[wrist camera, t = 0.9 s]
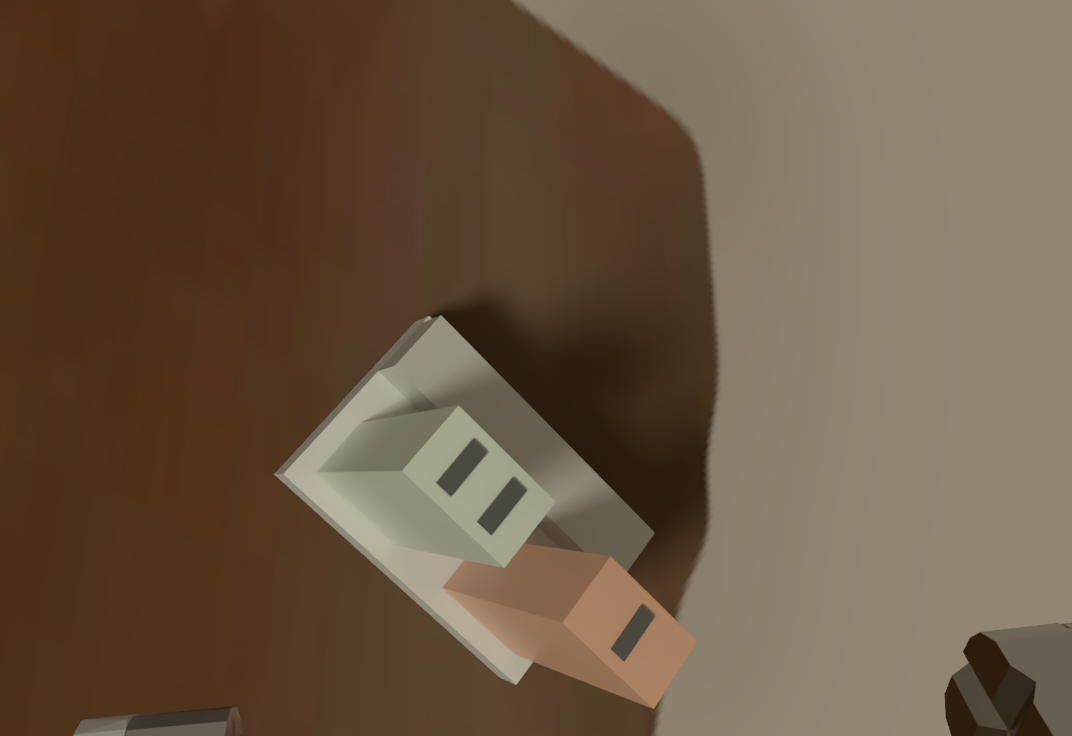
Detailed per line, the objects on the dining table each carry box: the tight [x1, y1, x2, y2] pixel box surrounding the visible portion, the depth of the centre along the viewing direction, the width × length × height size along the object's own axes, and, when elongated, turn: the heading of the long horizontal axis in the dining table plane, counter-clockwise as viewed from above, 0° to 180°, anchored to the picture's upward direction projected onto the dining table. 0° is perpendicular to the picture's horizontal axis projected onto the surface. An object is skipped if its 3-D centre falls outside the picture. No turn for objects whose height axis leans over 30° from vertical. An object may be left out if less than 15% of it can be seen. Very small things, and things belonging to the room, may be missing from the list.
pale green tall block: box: [316, 405, 556, 568], centre depth 39 cm, size 5×3×12 cm, turn 48°
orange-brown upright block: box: [442, 543, 697, 709], centre depth 41 cm, size 5×3×12 cm, turn 48°
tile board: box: [274, 315, 655, 685], centre depth 46 cm, size 15×10×4 cm, turn 48°
